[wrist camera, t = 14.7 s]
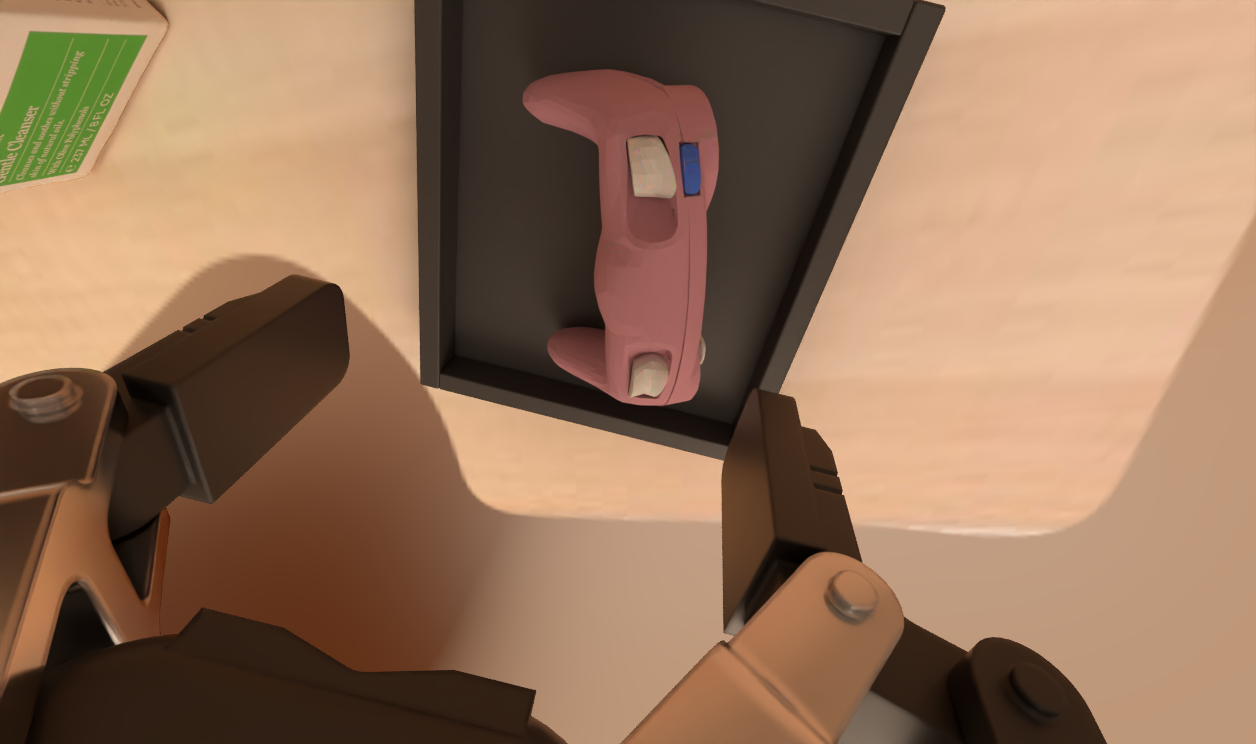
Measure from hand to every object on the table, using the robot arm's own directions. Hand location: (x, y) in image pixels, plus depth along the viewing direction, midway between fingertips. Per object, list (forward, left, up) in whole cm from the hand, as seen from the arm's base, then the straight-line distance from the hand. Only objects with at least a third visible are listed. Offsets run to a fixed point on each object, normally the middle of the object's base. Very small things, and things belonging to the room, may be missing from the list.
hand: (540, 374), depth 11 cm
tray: (0, 0, -10) cm, 10 cm away
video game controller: (0, 0, -10) cm, 10 cm away
